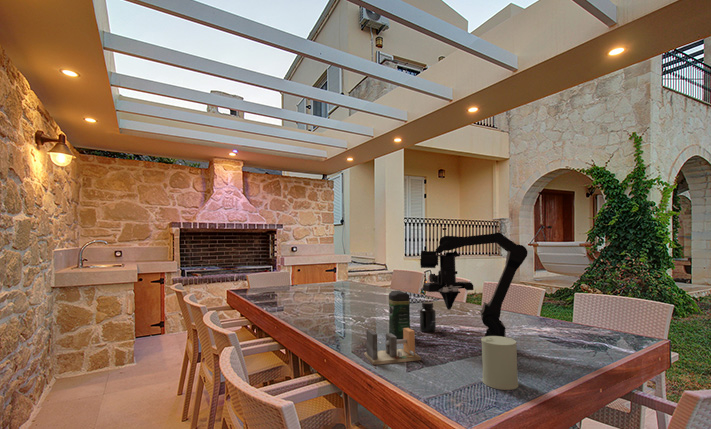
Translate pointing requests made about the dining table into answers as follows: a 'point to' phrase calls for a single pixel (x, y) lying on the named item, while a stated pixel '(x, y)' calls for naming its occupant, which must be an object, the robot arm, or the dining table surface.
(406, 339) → the plunger
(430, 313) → the supplement bottle
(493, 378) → the can
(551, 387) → the dining table surface
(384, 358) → the wooden base with posts
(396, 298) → the coffee jar
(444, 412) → the dining table surface
